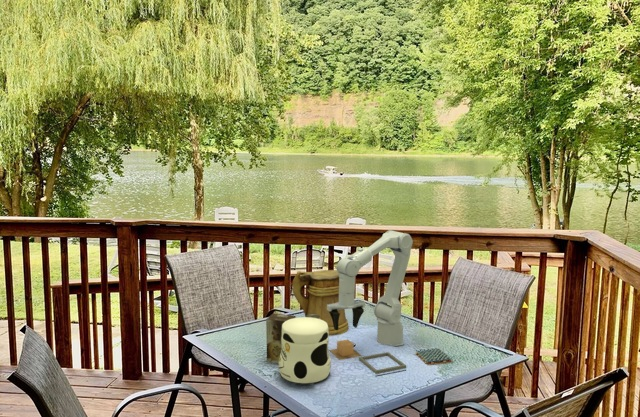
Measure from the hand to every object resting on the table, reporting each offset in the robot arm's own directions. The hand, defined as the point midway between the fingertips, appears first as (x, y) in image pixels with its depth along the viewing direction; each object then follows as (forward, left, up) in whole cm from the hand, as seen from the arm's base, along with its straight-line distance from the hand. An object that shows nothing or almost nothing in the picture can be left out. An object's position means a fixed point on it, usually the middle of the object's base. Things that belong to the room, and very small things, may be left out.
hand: (345, 328), depth 186 cm
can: (+8, -12, -11) cm, 18 cm away
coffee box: (+23, -5, -11) cm, 26 cm away
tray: (-8, +13, -11) cm, 19 cm away
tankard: (-2, -27, -11) cm, 29 cm away
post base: (0, 0, -11) cm, 11 cm away
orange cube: (0, 0, -10) cm, 10 cm away
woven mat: (-29, +14, -11) cm, 34 cm away
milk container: (+20, +10, -11) cm, 25 cm away
